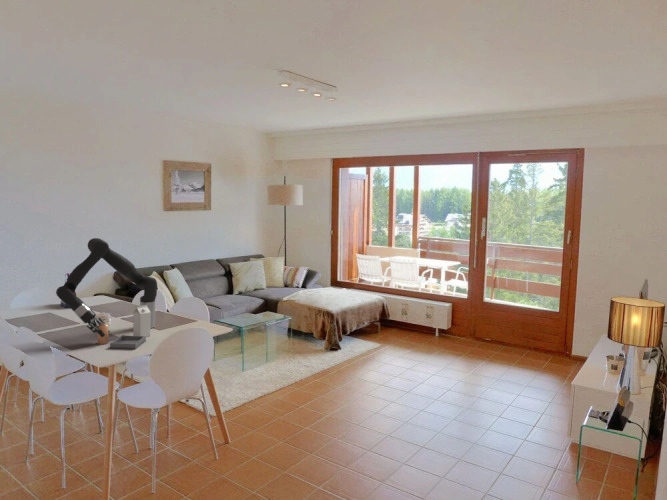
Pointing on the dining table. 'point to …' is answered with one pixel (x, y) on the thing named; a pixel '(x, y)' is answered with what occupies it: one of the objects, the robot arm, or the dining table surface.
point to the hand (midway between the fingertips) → (106, 334)
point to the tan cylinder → (104, 329)
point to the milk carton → (141, 321)
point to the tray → (128, 342)
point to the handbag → (65, 303)
